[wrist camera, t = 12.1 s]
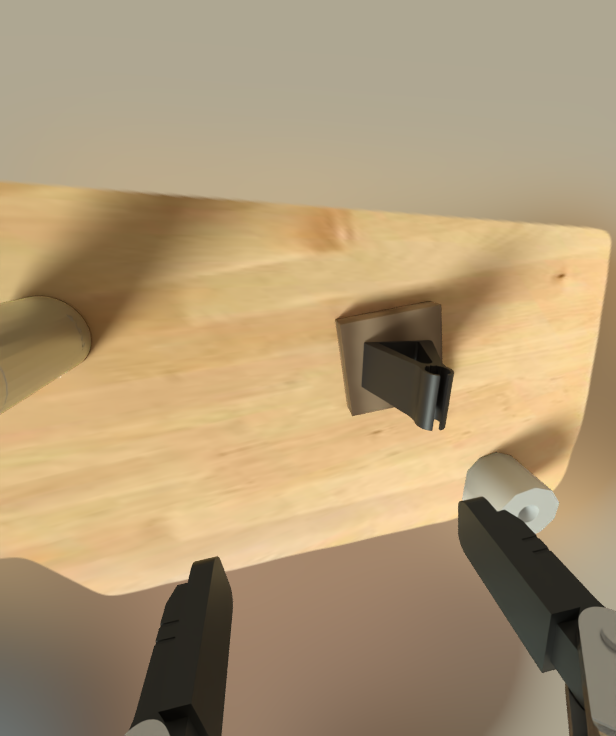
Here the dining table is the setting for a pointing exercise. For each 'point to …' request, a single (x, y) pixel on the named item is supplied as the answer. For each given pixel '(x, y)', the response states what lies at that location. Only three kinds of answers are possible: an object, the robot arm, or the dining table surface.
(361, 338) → the walnut block
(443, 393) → the phone stand
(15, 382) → the robot arm
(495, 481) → the toilet tissue
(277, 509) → the dining table surface
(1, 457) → the dining table surface
